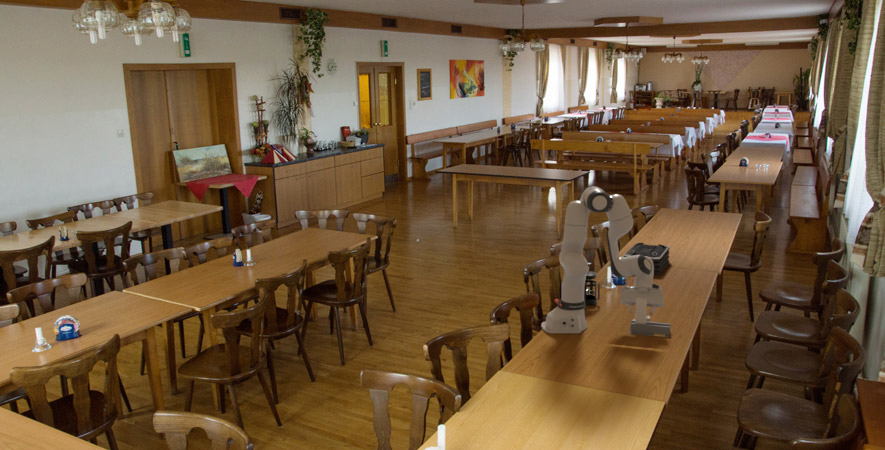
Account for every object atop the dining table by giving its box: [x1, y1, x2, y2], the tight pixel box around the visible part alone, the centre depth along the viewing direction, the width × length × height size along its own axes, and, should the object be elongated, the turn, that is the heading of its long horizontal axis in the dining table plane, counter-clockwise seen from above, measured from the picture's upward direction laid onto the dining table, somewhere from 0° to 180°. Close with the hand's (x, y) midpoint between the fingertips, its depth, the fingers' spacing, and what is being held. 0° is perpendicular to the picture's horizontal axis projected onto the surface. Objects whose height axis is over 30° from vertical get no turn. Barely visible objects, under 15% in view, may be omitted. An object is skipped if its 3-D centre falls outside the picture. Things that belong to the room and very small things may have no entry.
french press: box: [584, 261, 601, 307], centre depth 364 cm, size 12×9×23 cm
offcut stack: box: [632, 315, 651, 322], centre depth 327 cm, size 8×5×5 cm, turn 70°
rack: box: [629, 319, 671, 338], centre depth 322 cm, size 18×14×5 cm
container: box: [623, 242, 670, 276], centre depth 430 cm, size 22×35×13 cm, turn 152°
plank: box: [634, 298, 648, 324], centre depth 321 cm, size 5×2×16 cm, turn 70°
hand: (640, 313), depth 320 cm, fingers open, 8 cm apart
